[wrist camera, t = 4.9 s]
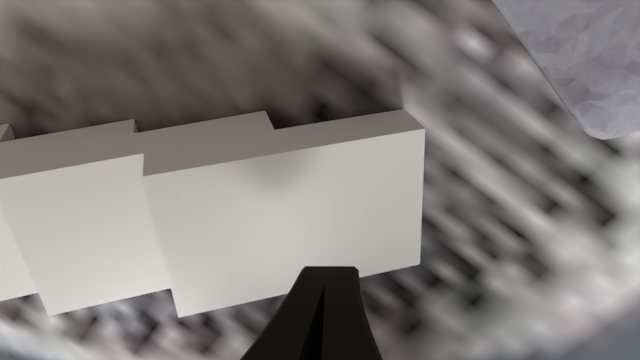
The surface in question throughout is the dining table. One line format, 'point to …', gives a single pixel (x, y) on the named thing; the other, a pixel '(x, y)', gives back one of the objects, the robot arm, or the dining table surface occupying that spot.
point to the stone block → (585, 57)
